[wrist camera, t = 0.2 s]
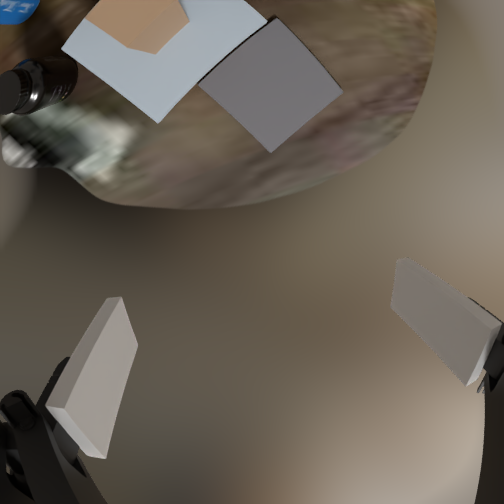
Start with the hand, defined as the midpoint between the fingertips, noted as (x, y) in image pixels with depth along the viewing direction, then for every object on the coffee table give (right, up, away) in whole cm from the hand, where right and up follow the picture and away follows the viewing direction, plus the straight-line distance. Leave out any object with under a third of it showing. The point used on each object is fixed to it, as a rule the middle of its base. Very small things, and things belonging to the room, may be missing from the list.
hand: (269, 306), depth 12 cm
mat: (+2, +23, +18) cm, 29 cm away
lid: (-9, +22, +5) cm, 24 cm away
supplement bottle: (-26, +25, +12) cm, 38 cm away
